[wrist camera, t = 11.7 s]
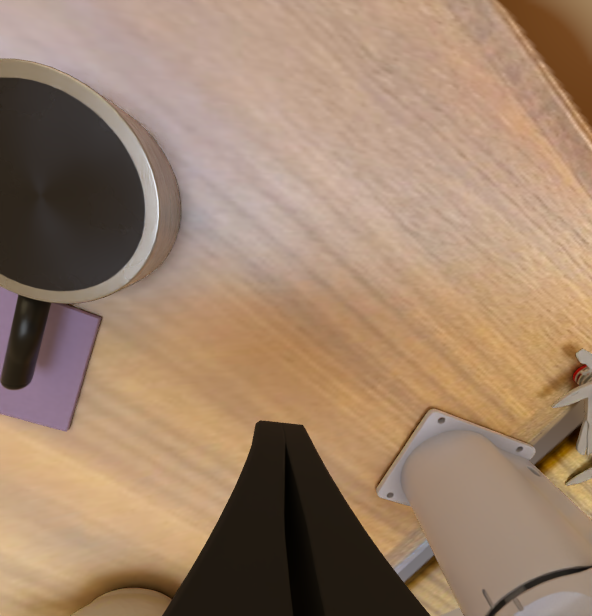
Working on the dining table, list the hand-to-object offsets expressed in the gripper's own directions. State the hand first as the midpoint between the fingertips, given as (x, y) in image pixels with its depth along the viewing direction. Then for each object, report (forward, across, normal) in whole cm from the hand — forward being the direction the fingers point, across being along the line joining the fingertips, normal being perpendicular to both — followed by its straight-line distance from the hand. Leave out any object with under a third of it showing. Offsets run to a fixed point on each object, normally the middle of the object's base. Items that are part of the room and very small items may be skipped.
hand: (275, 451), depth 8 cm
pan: (+9, +11, -3) cm, 15 cm away
